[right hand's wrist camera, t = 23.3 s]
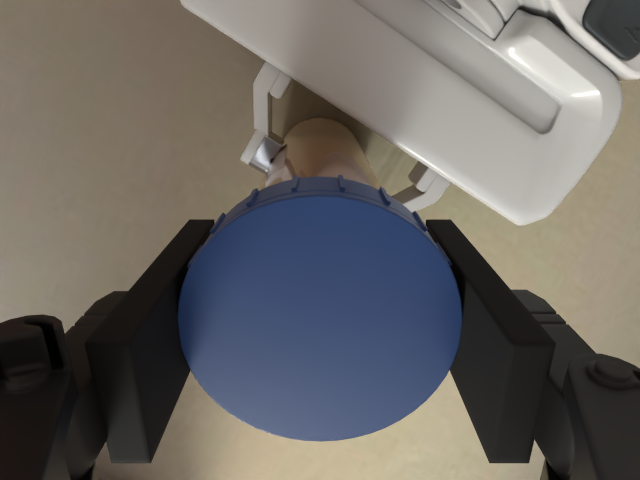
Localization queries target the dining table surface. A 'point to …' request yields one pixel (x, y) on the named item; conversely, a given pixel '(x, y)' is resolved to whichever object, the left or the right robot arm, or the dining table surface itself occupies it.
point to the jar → (320, 154)
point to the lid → (320, 310)
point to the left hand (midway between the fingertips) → (311, 200)
